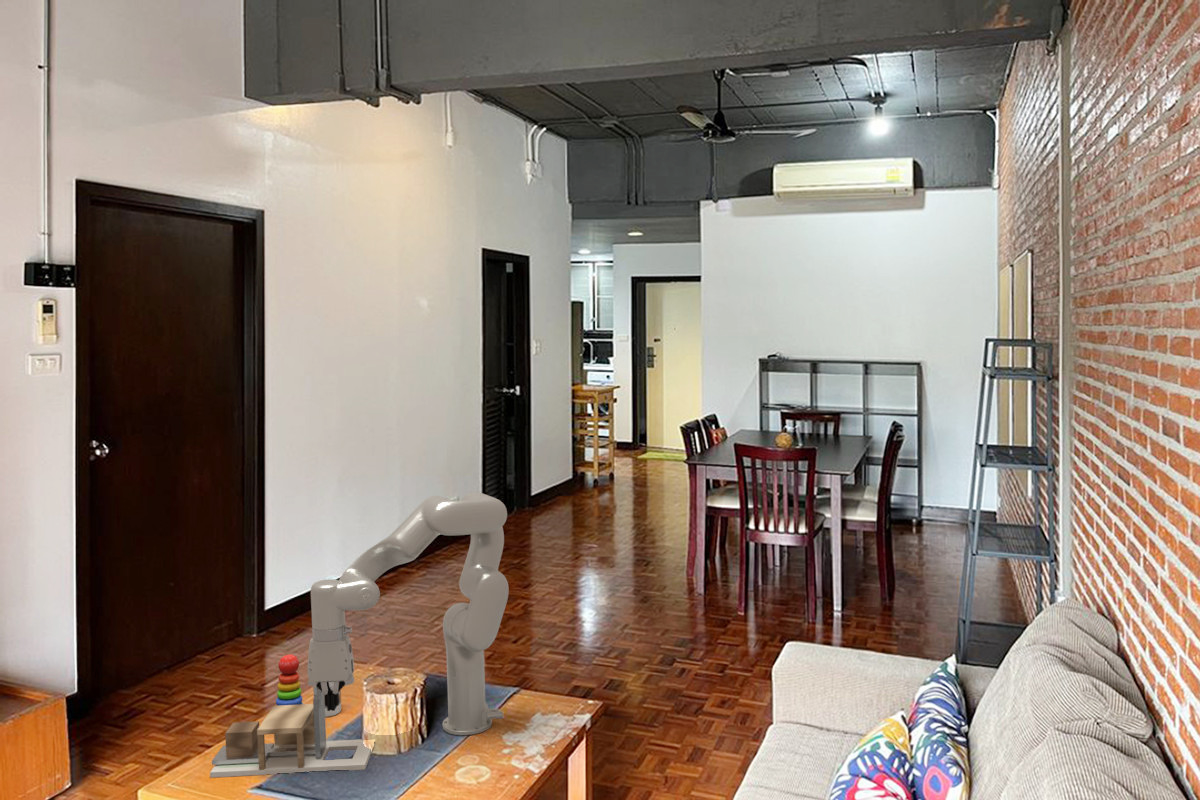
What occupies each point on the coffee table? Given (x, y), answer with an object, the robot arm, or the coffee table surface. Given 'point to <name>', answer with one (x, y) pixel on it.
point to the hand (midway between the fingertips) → (332, 708)
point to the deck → (311, 762)
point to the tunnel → (287, 729)
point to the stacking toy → (289, 682)
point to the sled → (269, 751)
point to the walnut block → (242, 739)
